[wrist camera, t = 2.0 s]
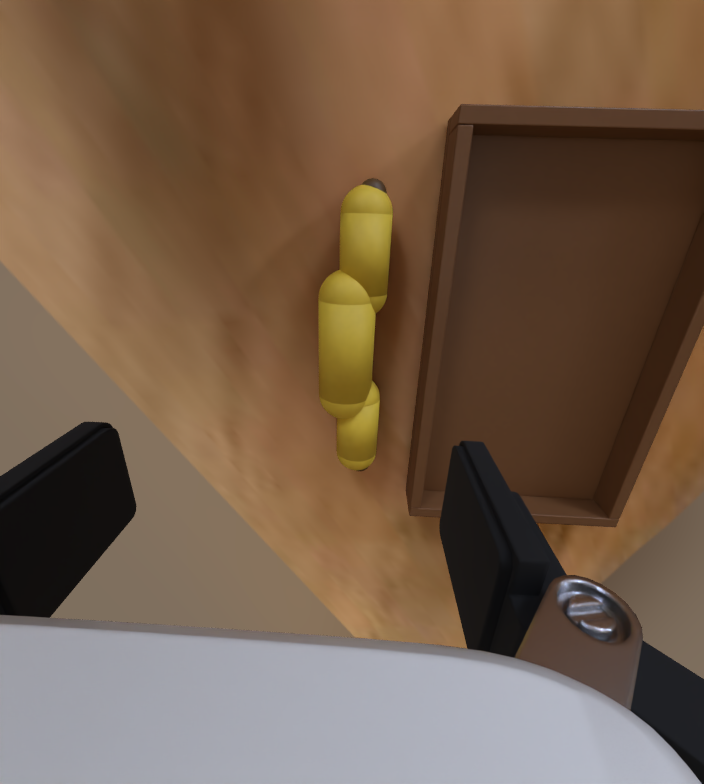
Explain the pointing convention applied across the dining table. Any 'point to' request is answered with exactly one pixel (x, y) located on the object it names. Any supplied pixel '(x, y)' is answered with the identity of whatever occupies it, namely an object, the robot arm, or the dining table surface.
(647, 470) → the dining table surface
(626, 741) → the robot arm
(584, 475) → the tray
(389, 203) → the banana
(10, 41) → the dining table surface
